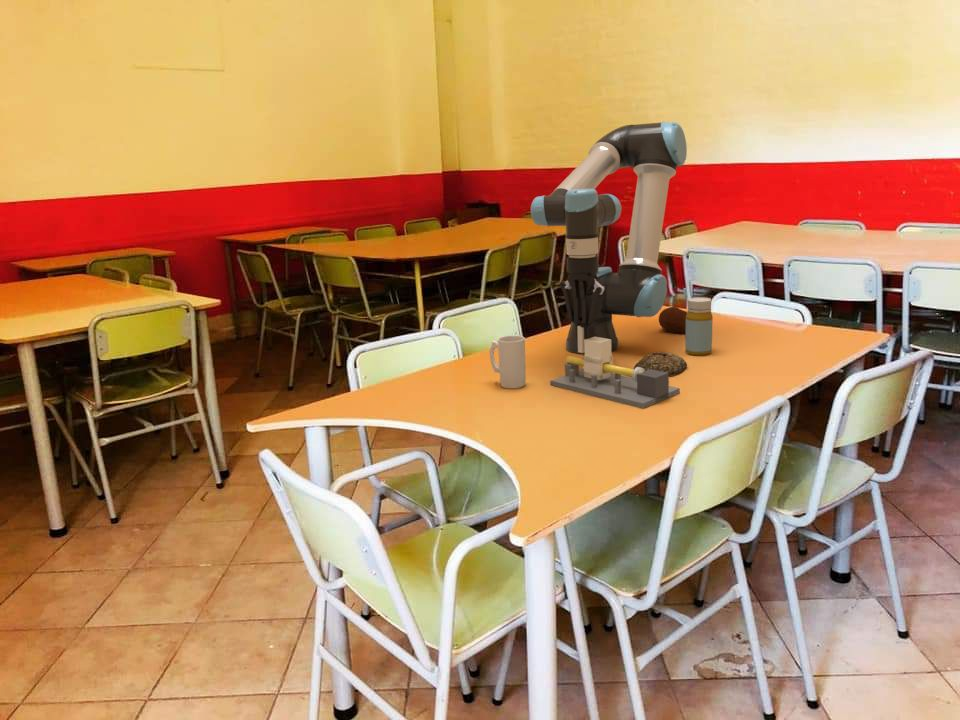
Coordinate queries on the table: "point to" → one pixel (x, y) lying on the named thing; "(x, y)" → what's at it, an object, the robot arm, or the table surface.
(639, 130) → the robot arm
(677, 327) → the potato
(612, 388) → the yellow rod slider
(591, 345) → the sleeve
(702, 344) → the bottle
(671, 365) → the bread roll
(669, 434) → the table surface
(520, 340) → the mug
